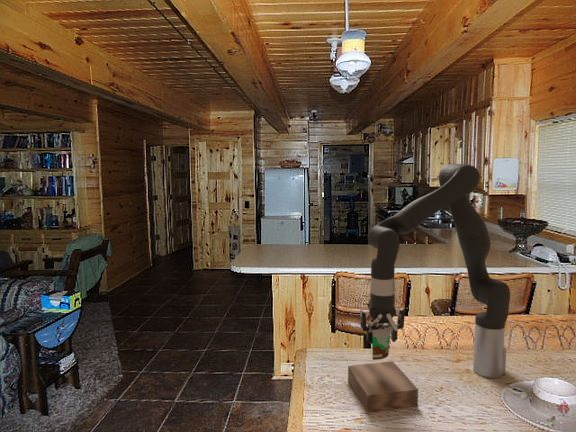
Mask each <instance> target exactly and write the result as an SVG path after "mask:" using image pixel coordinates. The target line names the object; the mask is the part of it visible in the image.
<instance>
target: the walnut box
mask: <svg viewBox="0 0 576 432" xmlns="http://www.w3.org/2000/svg"><path fill="white" fill-rule="evenodd" d="M347 382H348V384H349V385H350V387H351V389H352V390H353V392H354V394H355V396H356V397H357V399H358V400H359V402H360V404H361V406H362V407H363V408H364V410H365V412H366V413H367V414H373V413H379V412H387V411H389V412H390V411H395V410H403V409H411V408H416V407H418V406H419V405H418V403H419V389H418V387H416V385H415V384H414V383H413V382H412V381H411V380H410V378H409V377H408V376H407V375H406V374H405V372H403V370H401V369H400V367H399V366H398V365H397V364H396V363H395V362H394V361H383V362H382V361H381V362H374V363H373V362H372V363H363V364H354V365H348V366H347Z"/></svg>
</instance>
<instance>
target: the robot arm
mask: <svg viewBox="0 0 576 432" xmlns="http://www.w3.org/2000/svg"><path fill="white" fill-rule="evenodd" d="M479 171H480V170H479V169H478V168H476V167H475V166H473V165H472V164H467V163H465V164H464V163H448V164H445V165H443V166H442V168H440V171H439V174H438V183H439V186H440V187H439V188H437V189H436V190H434V191H431V192H430V193H428V194H426V195H423V196H421V197H419V198H417V199H415V200H413V201H411V202H410V203H408V204H407V205H406V206H404V207H403V208H402V209H401V210H399V211H398V212H397V213H396V214H394V215H393V216H390V217H389V218H386V219H385V220H382V221H381V222H378V223H377V224H376V225H374V226H373V227H371V229H370V230H369V232H368V234H367V241H368V244H369V245H370V246H371V247H372V248H375V249H377V252H376V257H374V258H372V260H371V266H370V285H369V287H370V288H369V309H368V310H363V309H361V310H360V311H359V318H360V321H359V322H360V324H359V325H360V328H361V329H362V331H363V332H366V340H367V342H368V343H369V344H370V345H371V344H372V345H373V328H374V327H376V325H377V324H381V323H388V322H389V323H390V324H391V325H392V328H393V332H392V333H391V334H390V341H392V342H393V343H396V341H397V340H398V332H399V330H400V329H401V330H403V328H404V327H405V315H406V311H405V310H404V309H403V308H402V307H399V308H396V307H395V305H396V281H395V271H396V270H395V263H396V261H397V259H398V258H397V256H398V253H399V250H400V239H399V236H400V235H406V234H410V233H411V232H413V230H415V229H416V228H418V227H419V226H420V225H421V224H422V223H424V222H425V221H426V220H428V219H429V218H431V217H432V216H433V215H435V214H436V213H438V212H440V210H442V209H444V208H446V207H447V206H448V208H449V210H450V214H451V218H452V222H453V224H454V228H455V231H456V236H457V238H458V242H459V245H460V248H461V251H462V256H463V259H464V262H465V267H466V270H467V277H468V281H469V287H470V291H471V295H472V298H474V300H475V301H477V302H478V303H481V304H484V305H486V311H481V312H478V313H477V314H475V316H474V317H475V320H474V321H475V322H474V340H473V341H474V342H473V343H474V344H473V363H472V365H473V366H472V367H473V368H472V370H473V372H474V373H476V374H477V375H479V376H481V377H484V378H489V379H491V378H492V379H498V378H500V377H502V376H503V375H506V364H507V362H506V361H507V347H505V333H506V331H505V330H506V321H507V320H508V317H509V309H510V302H511V290H510V286H509V285H508V284H507V283H506V282H504V281H501V280H498V279H495V278H493V277H490V275H489V273H488V270H487V264H486V261H487V257H488V256H489V253H490V250H491V238H490V235H489V232H488V228H487V226H486V225H487V224H486V223H485V221H484V220H483V218H482V217H481V215H480V214H479V212H478V211H477V210H476V209H475V208H474V206H473V205H472V203H471V201H470V199H469V197H468V195H469V194H471V193H472V192H473V191H475V189H476V188H477V187H478V186H479V184H480V181H481V175H480V172H479ZM369 315H370V319H369V321H368V324H367V318H368V316H369ZM395 315H397V321H396V322H395V320H394V319H393V318H394V316H395Z"/></svg>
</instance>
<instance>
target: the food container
mask: <svg viewBox="0 0 576 432" xmlns="http://www.w3.org/2000/svg"><path fill="white" fill-rule="evenodd" d="M372 332H373V344H372V360H373V361H374V360H375V361H376V360H378V361H379V360H383V359H385V358H387V357H389V351H390V341H391V333H392V332H393V328H392V325H391V324H390V323H389V322H388V323H381V324H377V325H376V327H374V328H373V331H372Z"/></svg>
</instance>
